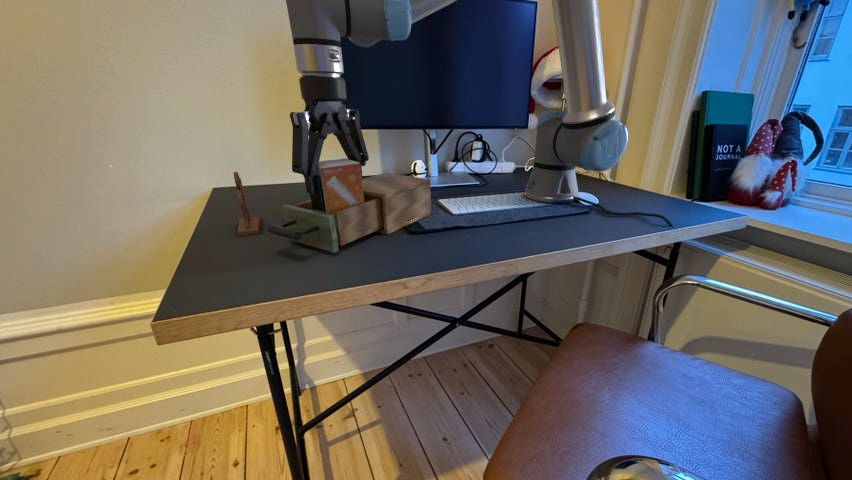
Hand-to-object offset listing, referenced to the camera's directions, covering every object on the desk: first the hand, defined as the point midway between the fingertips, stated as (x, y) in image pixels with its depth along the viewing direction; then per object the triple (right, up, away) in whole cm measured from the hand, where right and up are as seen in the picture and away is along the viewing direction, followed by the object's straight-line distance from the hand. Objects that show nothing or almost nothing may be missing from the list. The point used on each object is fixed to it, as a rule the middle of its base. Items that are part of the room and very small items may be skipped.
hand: (339, 203), depth 73 cm
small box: (0, -5, +2) cm, 5 cm away
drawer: (-2, -7, 0) cm, 7 cm away
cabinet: (+7, -1, +14) cm, 16 cm away
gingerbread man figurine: (-22, -4, +7) cm, 23 cm away
